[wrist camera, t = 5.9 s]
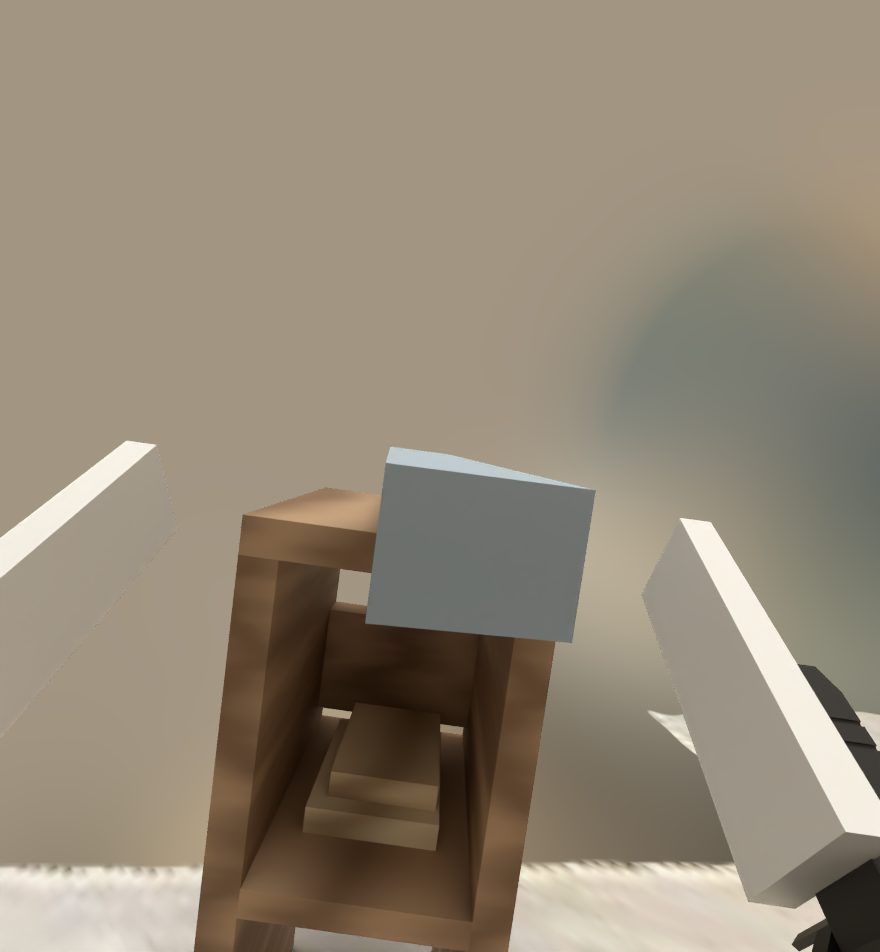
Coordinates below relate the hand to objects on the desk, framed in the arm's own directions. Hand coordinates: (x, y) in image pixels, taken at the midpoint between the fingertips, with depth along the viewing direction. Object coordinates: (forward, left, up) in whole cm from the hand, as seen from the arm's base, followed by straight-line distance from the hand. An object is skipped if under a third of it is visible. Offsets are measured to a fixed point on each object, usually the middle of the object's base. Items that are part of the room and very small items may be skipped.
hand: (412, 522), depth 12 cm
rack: (+5, +10, -31) cm, 33 cm away
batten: (+4, +7, -1) cm, 9 cm away
